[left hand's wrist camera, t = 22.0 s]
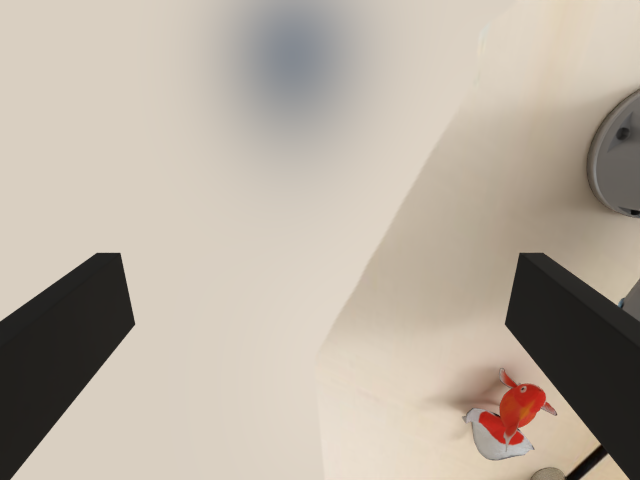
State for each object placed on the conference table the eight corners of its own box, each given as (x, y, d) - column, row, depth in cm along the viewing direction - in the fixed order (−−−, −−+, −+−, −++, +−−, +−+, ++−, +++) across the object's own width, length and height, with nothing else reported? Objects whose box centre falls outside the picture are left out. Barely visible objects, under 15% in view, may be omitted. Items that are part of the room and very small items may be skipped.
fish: (590, 408, 51) (591, 474, 44) (498, 432, 62) (486, 489, 54) (530, 351, 52) (521, 406, 45) (449, 385, 62) (432, 435, 55)
